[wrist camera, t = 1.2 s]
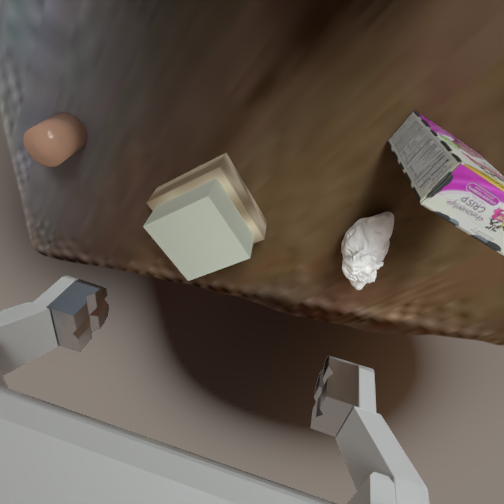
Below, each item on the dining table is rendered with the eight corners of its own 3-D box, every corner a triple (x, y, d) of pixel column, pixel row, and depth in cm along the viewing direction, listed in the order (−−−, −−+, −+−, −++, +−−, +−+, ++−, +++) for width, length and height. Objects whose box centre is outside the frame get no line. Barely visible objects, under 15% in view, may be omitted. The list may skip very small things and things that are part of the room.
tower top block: (155, 206, 49) (142, 226, 45) (216, 176, 45) (208, 195, 41) (196, 259, 54) (188, 281, 50) (254, 236, 50) (250, 258, 46)
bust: (374, 192, 51) (332, 214, 44) (423, 217, 48) (386, 246, 41) (346, 255, 59) (306, 283, 52) (387, 282, 55) (349, 316, 48)
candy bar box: (483, 153, 44) (559, 224, 31) (451, 184, 47) (508, 262, 34) (413, 105, 42) (463, 161, 29) (384, 141, 45) (417, 207, 32)
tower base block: (158, 186, 53) (146, 202, 49) (226, 151, 48) (219, 166, 44) (202, 246, 59) (195, 265, 55) (267, 220, 54) (264, 239, 50)
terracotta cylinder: (43, 123, 48) (14, 138, 44) (68, 105, 47) (41, 119, 42) (69, 154, 51) (45, 172, 46) (94, 139, 49) (72, 156, 44)
